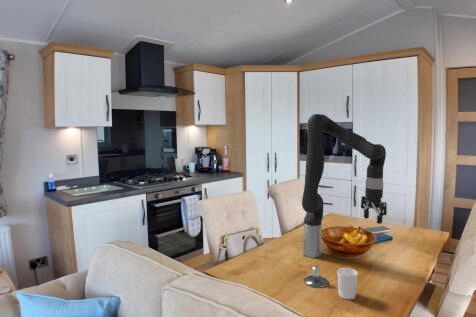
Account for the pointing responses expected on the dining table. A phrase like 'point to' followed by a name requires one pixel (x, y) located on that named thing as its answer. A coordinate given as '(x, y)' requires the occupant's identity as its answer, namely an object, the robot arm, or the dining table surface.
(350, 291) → the white cup
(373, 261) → the dining table surface
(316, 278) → the lid
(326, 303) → the dining table surface
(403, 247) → the dining table surface
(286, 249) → the dining table surface
